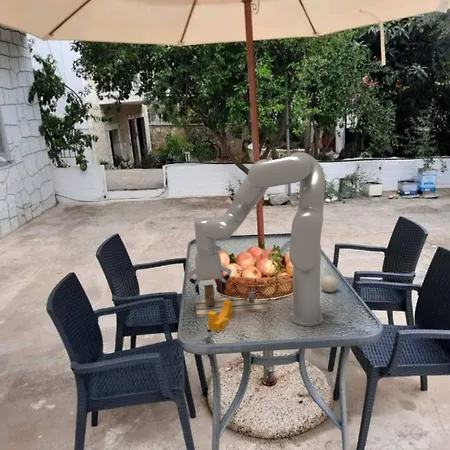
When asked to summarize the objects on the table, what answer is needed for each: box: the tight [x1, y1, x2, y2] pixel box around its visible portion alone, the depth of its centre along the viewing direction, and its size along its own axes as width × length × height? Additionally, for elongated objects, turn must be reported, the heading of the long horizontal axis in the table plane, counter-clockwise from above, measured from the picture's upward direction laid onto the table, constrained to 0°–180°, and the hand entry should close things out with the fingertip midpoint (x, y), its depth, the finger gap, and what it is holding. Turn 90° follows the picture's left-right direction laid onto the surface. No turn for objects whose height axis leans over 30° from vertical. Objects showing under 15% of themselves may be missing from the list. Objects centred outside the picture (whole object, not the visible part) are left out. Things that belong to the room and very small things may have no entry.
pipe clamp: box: [207, 300, 234, 333], centre depth 149 cm, size 12×4×6 cm, turn 147°
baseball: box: [320, 275, 339, 293], centre depth 171 cm, size 7×7×7 cm
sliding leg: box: [203, 284, 215, 306], centre depth 160 cm, size 4×4×8 cm
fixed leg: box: [248, 290, 255, 303], centre depth 162 cm, size 2×2×4 cm
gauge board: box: [195, 296, 271, 319], centre depth 162 cm, size 28×12×2 cm, turn 95°
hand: (210, 292), depth 159 cm, fingers open, 9 cm apart
